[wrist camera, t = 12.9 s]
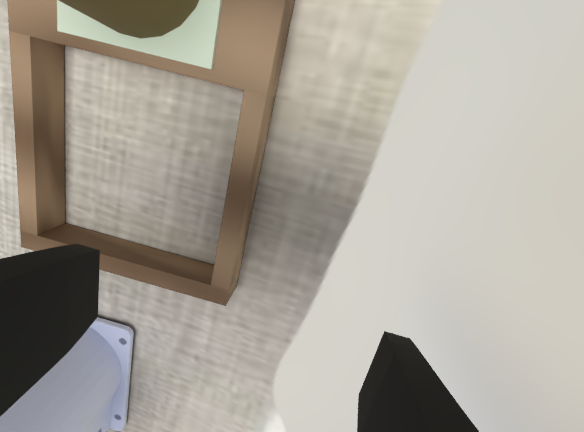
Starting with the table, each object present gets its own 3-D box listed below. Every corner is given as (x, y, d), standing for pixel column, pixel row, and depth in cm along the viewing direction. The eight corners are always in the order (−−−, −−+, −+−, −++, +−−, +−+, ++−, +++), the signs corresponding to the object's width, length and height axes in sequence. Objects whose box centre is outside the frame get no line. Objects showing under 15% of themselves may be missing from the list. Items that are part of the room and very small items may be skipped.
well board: (236, 286, 20) (224, 308, 18) (50, 233, 21) (18, 248, 19) (323, -141, 13) (320, -185, 11) (40, -201, 14) (-13, -253, 12)
